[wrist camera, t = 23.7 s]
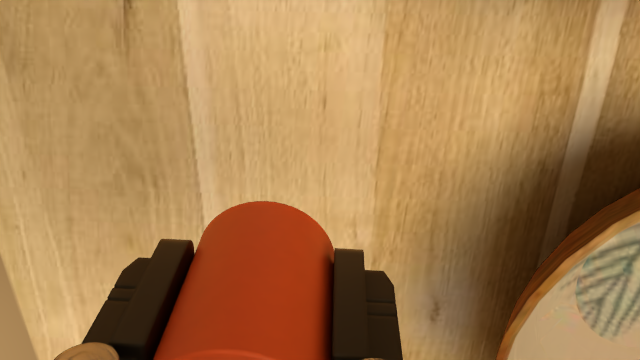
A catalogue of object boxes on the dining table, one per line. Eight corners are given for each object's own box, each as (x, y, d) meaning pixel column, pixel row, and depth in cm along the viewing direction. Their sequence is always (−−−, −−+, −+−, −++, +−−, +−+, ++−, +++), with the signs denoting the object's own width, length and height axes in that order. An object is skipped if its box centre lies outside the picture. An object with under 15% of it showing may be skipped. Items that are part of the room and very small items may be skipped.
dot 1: (203, 306, 15) (148, 476, 11) (194, 196, 14) (124, 346, 9) (331, 313, 15) (327, 486, 11) (338, 203, 14) (336, 357, 9)
